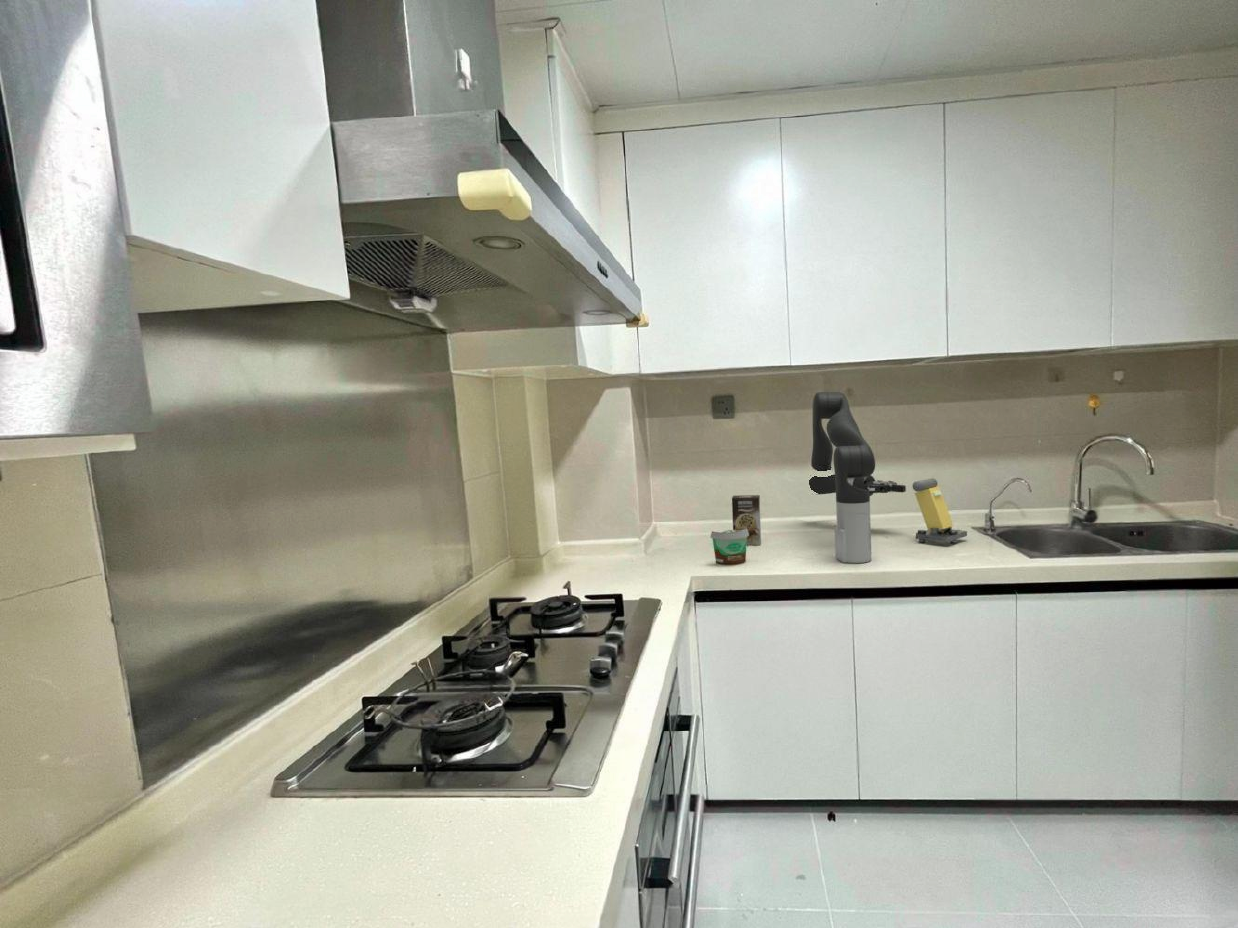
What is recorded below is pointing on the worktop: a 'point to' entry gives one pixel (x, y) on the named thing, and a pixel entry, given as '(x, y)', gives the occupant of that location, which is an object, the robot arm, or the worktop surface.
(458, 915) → the worktop surface
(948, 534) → the tribrach
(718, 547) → the food container
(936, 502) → the grey-capped yellow box
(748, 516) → the coffee box
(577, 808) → the worktop surface
